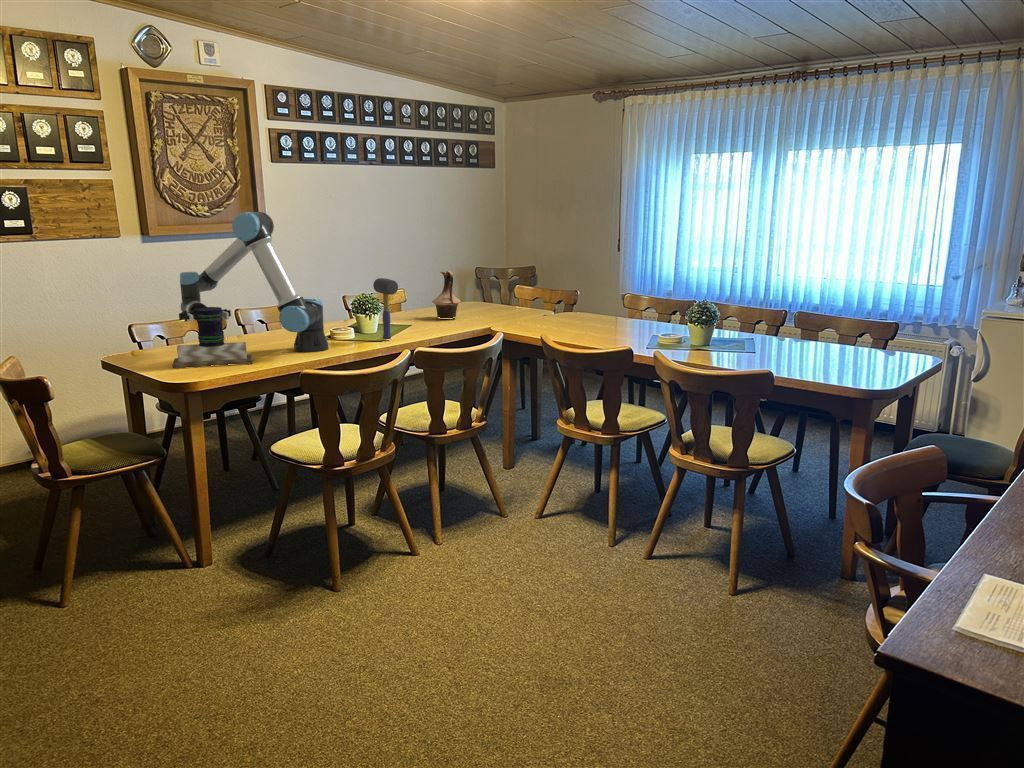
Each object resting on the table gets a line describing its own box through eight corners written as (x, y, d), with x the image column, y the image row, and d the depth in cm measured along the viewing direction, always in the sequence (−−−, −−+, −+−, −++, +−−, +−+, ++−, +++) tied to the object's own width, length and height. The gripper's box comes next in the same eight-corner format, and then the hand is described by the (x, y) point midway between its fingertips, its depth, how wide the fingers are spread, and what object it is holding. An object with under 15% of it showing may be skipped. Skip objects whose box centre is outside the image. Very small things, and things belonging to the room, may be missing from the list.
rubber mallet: (373, 339, 357) (371, 277, 350) (386, 337, 362) (385, 277, 355) (387, 343, 348) (385, 280, 341) (400, 341, 353) (399, 279, 346)
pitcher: (466, 320, 421) (466, 271, 415) (439, 322, 413) (439, 272, 406) (453, 316, 436) (453, 268, 429) (427, 317, 428) (426, 269, 421)
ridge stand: (251, 357, 312) (250, 340, 310) (252, 364, 299) (251, 346, 297) (174, 361, 301) (173, 343, 299) (172, 368, 289) (170, 350, 287)
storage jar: (193, 345, 296) (190, 309, 292) (211, 341, 305) (208, 306, 301) (212, 347, 292) (208, 310, 289) (230, 343, 301) (227, 307, 298)
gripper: (228, 317, 319) (242, 324, 302) (166, 322, 305) (178, 329, 288) (226, 300, 317) (241, 306, 300) (164, 304, 303) (176, 310, 286)
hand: (210, 317), depth 294 cm, fingers open, 13 cm apart
